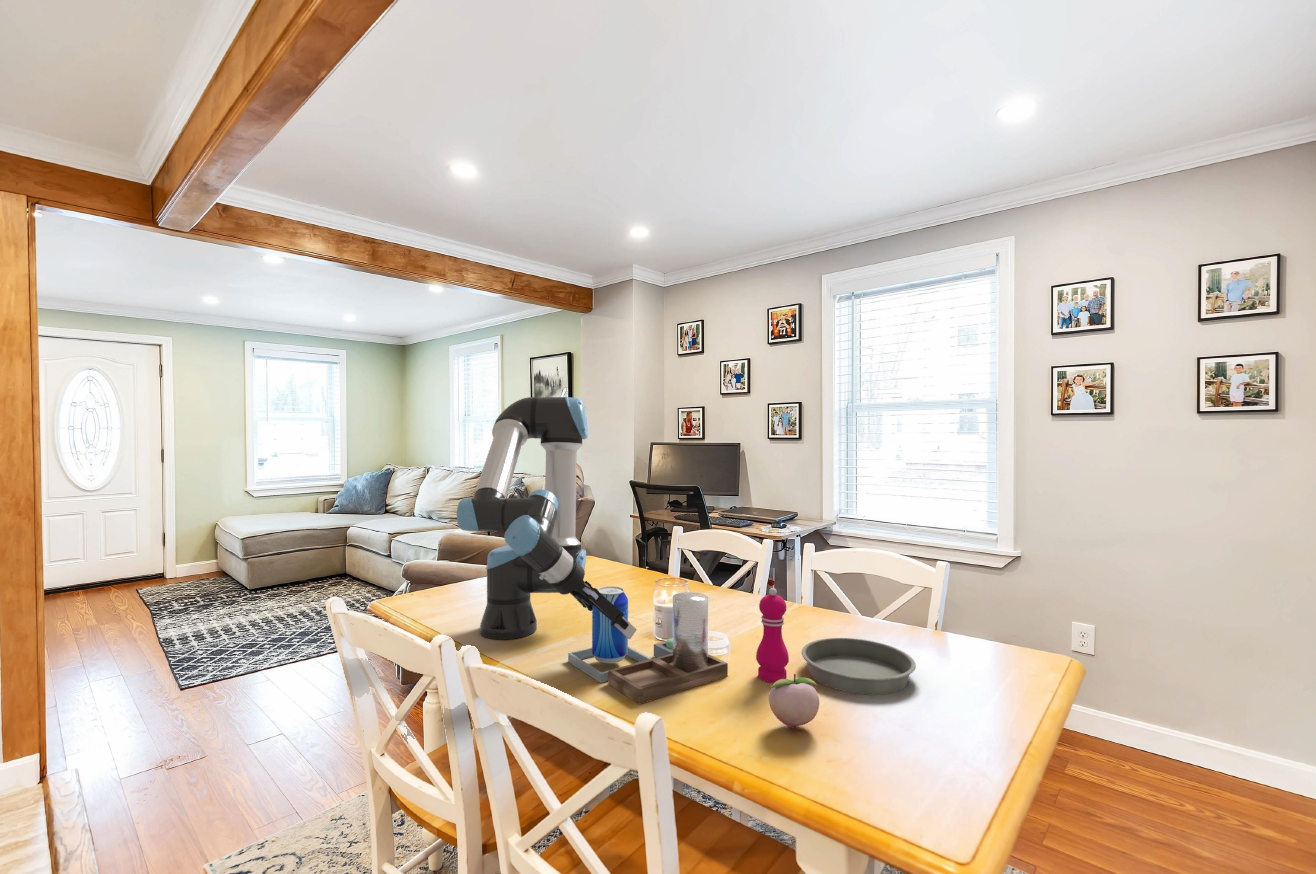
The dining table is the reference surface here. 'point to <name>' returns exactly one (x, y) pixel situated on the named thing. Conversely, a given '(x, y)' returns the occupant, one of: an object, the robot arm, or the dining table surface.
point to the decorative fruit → (794, 701)
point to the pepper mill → (772, 639)
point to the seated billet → (690, 631)
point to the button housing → (661, 649)
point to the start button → (669, 643)
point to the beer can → (609, 629)
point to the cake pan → (858, 665)
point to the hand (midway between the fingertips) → (622, 628)
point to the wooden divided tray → (662, 677)
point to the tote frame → (591, 671)
